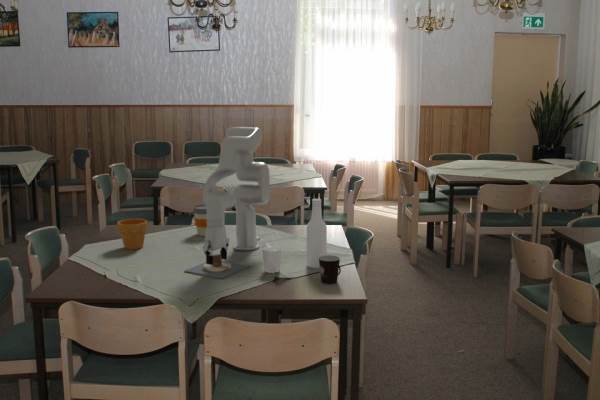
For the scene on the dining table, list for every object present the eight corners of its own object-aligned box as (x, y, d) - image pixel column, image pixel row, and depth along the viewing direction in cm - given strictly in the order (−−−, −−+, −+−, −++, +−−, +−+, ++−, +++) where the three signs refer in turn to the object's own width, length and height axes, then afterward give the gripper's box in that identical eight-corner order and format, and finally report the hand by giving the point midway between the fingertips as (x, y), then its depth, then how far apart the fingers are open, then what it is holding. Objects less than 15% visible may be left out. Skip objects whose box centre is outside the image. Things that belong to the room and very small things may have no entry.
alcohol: (304, 263, 278) (304, 198, 273) (323, 262, 280) (323, 197, 275) (309, 269, 270) (309, 201, 264) (328, 268, 272) (329, 200, 266)
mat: (213, 260, 284) (213, 259, 284) (249, 266, 274) (249, 265, 274) (184, 271, 267) (184, 270, 267) (221, 279, 257) (221, 277, 257)
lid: (214, 262, 279) (214, 250, 277) (236, 266, 273) (236, 254, 272) (197, 269, 268) (197, 257, 267) (220, 273, 262) (219, 261, 261)
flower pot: (113, 249, 303) (111, 223, 300) (128, 242, 316) (127, 217, 314) (139, 251, 299) (137, 225, 297) (153, 244, 313) (152, 219, 310)
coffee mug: (317, 278, 257) (317, 255, 255) (338, 278, 258) (338, 254, 256) (320, 287, 246) (320, 263, 244) (342, 287, 247) (342, 262, 245)
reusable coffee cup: (195, 237, 326) (194, 209, 324) (193, 232, 338) (192, 205, 336) (219, 236, 329) (218, 208, 326) (216, 230, 341) (215, 204, 338)
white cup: (279, 274, 264) (278, 251, 262) (261, 273, 265) (260, 250, 263) (283, 268, 271) (283, 246, 269) (265, 267, 273) (265, 245, 271)
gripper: (221, 218, 276) (222, 255, 279) (195, 225, 261) (197, 265, 264) (234, 220, 272) (235, 258, 275) (210, 227, 258) (211, 267, 261)
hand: (216, 261), depth 270 cm, fingers open, 9 cm apart
